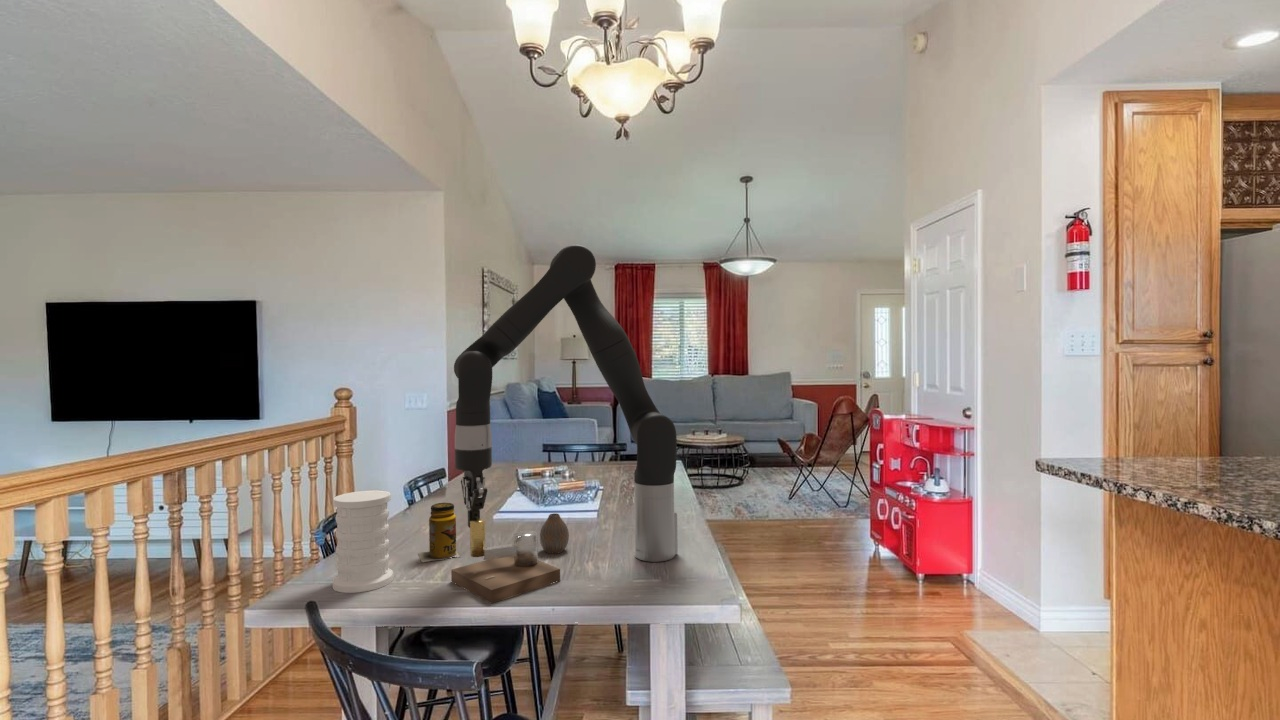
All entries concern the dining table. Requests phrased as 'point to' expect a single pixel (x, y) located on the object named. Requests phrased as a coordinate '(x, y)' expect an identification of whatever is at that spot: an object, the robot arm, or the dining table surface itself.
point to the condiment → (441, 533)
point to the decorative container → (362, 541)
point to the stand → (503, 578)
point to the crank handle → (521, 549)
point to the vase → (554, 534)
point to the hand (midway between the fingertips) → (473, 527)
